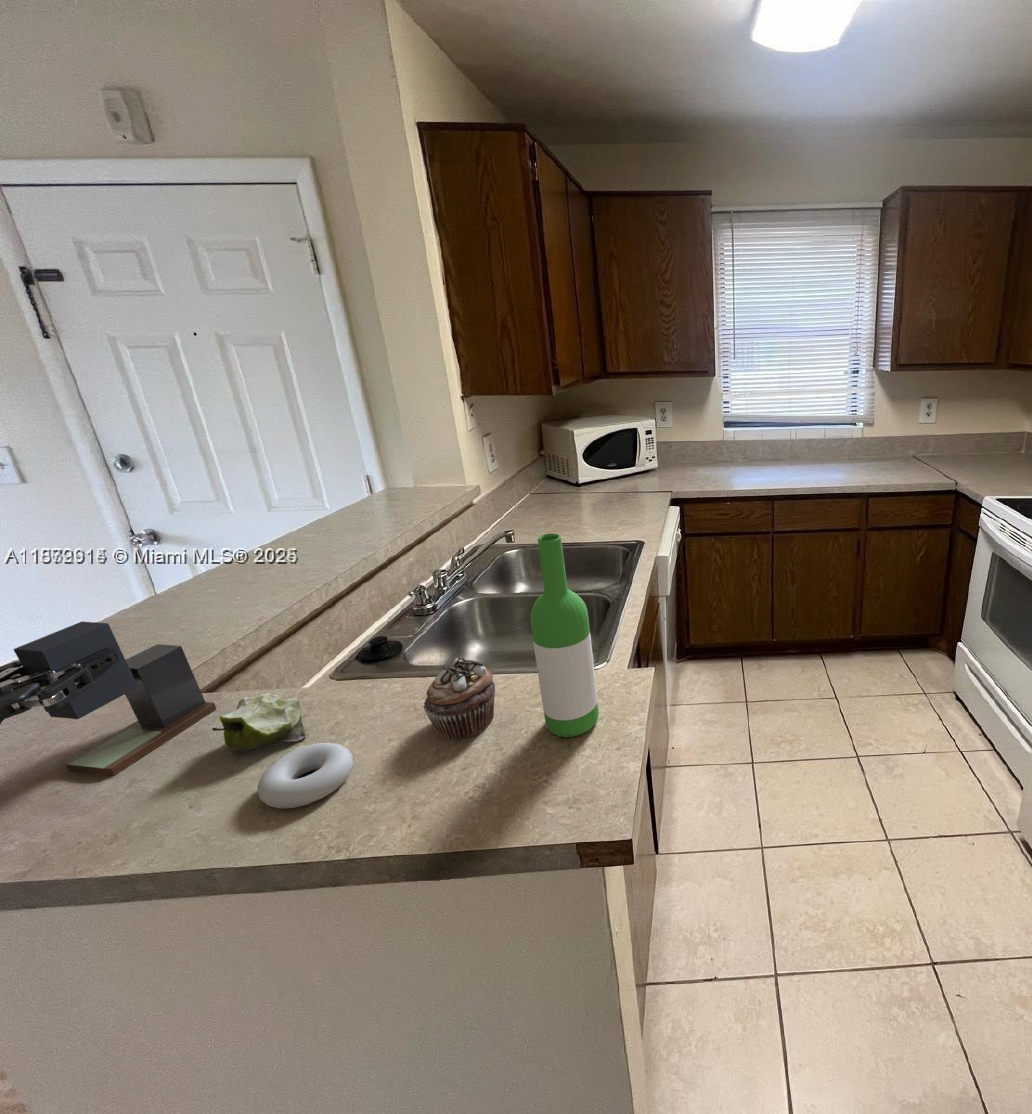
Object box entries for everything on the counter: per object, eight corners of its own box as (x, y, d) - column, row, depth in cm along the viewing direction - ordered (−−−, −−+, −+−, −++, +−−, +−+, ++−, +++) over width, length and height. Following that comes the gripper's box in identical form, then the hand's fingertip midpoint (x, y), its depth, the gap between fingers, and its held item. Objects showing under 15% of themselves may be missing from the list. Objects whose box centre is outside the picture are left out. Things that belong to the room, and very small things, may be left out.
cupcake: (458, 698, 90) (446, 645, 86) (513, 707, 89) (503, 652, 85) (414, 738, 82) (399, 680, 78) (474, 749, 80) (461, 690, 76)
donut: (243, 802, 71) (297, 824, 68) (233, 781, 70) (289, 802, 66) (322, 750, 80) (374, 767, 76) (315, 730, 78) (367, 747, 75)
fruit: (245, 777, 76) (209, 733, 73) (235, 748, 82) (201, 707, 79) (321, 733, 82) (291, 691, 78) (306, 709, 88) (277, 669, 84)
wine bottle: (543, 743, 81) (513, 550, 69) (548, 710, 88) (522, 528, 76) (598, 736, 83) (578, 545, 71) (600, 704, 90) (581, 525, 78)
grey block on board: (66, 771, 75) (26, 702, 71) (176, 705, 88) (148, 643, 84) (113, 776, 74) (75, 706, 70) (217, 709, 87) (190, 646, 83)
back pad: (77, 719, 71) (41, 651, 68) (50, 717, 72) (12, 649, 68) (138, 687, 78) (108, 623, 74) (113, 684, 78) (81, 621, 74)
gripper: (-53, 716, 57) (135, 631, 73) (-170, 704, 58) (39, 624, 74) (-16, 774, 60) (157, 680, 76) (-128, 762, 61) (64, 672, 77)
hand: (98, 652), depth 75 cm, fingers closed on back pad, 4 cm apart
